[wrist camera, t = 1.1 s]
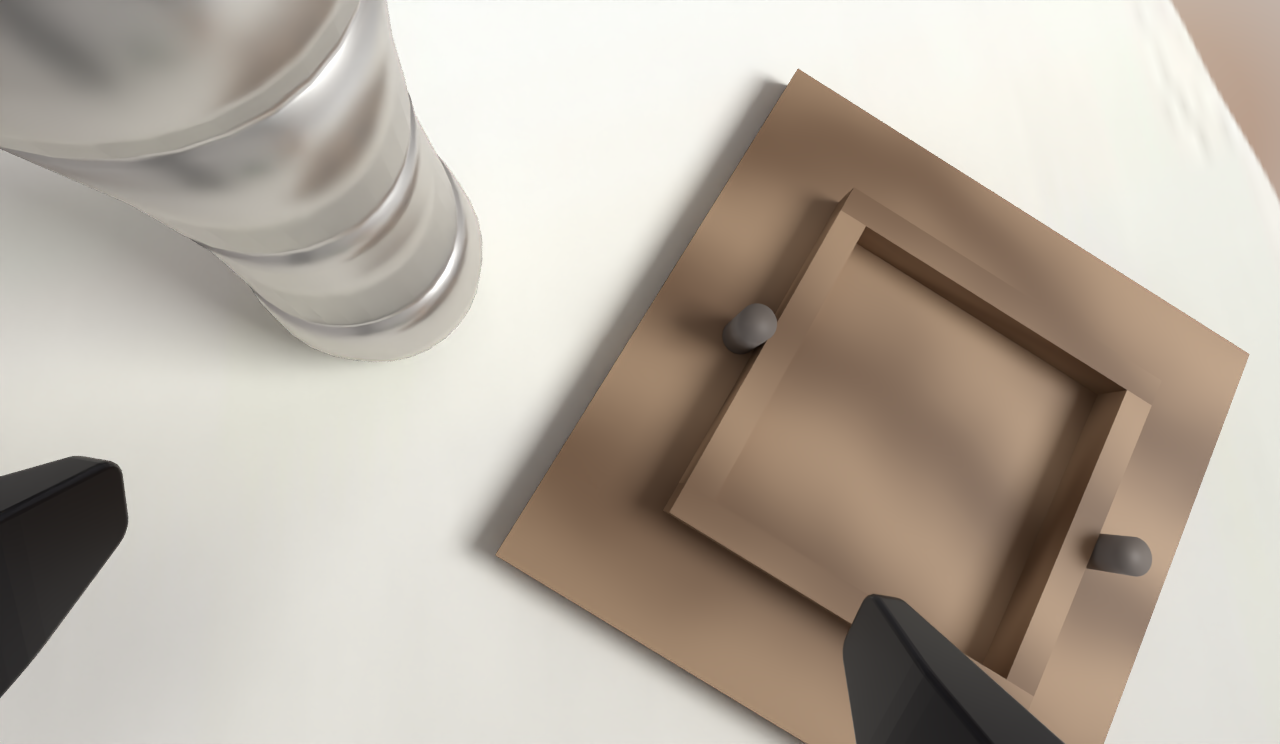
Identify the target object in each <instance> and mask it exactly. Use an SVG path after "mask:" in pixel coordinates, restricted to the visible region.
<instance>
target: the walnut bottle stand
mask: <svg viewBox="0 0 1280 744" xmlns="http://www.w3.org/2000/svg"><path fill="white" fill-rule="evenodd" d="M1248 357H1249V354H1248V353H1247V352H1245V351H1244V350H1242V349H1240V348H1239V347H1237V346H1236V345H1234V344H1232V343H1231V342H1229V341H1228V340H1226V339H1225V338H1223V337H1221V336H1220V335H1218V334H1217V333H1215V332H1213V331H1212V330H1210V329H1209V328H1207V327H1206V326H1204V325H1202V324H1201V323H1199V322H1198V321H1196V320H1195V319H1193V318H1191V317H1190V316H1188V315H1187V314H1185V313H1183V312H1182V311H1180V310H1179V309H1177V308H1176V307H1174V306H1172V305H1171V304H1169V303H1168V302H1166V301H1165V300H1163V299H1161V298H1160V297H1158V296H1157V295H1155V294H1153V293H1152V292H1150V291H1149V290H1147V289H1146V288H1144V287H1142V286H1141V285H1139V284H1138V283H1136V282H1134V281H1133V280H1131V279H1130V278H1128V277H1127V276H1125V275H1123V274H1122V273H1120V272H1119V271H1117V270H1116V269H1114V268H1112V267H1111V266H1109V265H1108V264H1106V263H1104V262H1103V261H1101V260H1100V259H1098V258H1097V257H1095V256H1093V255H1092V254H1090V253H1089V252H1087V251H1085V250H1084V249H1082V248H1081V247H1079V246H1078V245H1076V244H1074V243H1073V242H1071V241H1070V240H1068V239H1067V238H1065V237H1063V236H1062V235H1060V234H1059V233H1057V232H1055V231H1054V230H1052V229H1051V228H1049V227H1048V226H1046V225H1044V224H1043V223H1041V222H1040V221H1038V220H1036V219H1035V218H1033V217H1032V216H1030V215H1029V214H1027V213H1025V212H1024V211H1022V210H1021V209H1019V208H1018V207H1016V206H1014V205H1013V204H1011V203H1010V202H1008V201H1006V200H1005V199H1003V198H1002V197H1000V196H999V195H997V194H995V193H994V192H992V191H991V190H989V189H987V188H986V187H984V186H983V185H981V184H980V183H978V182H976V181H975V180H973V179H972V178H970V177H969V176H967V175H965V174H964V173H962V172H961V171H959V170H957V169H956V168H954V167H953V166H951V165H950V164H948V163H946V162H945V161H943V160H942V159H940V158H938V157H937V156H935V155H934V154H932V153H931V152H929V151H927V150H926V149H924V148H923V147H921V146H920V145H918V144H916V143H915V142H913V141H912V140H910V139H908V138H907V137H905V136H904V135H902V134H901V133H899V132H897V131H896V130H894V129H893V128H891V127H889V126H888V125H886V124H885V123H883V122H882V121H880V120H878V119H877V118H875V117H874V116H872V115H871V114H869V113H867V112H866V111H864V110H863V109H861V108H859V107H858V106H856V105H855V104H853V103H852V102H850V101H848V100H847V99H845V98H844V97H842V96H841V95H839V94H837V93H836V92H834V91H833V90H831V89H829V88H828V87H826V86H825V85H823V84H822V83H820V82H818V81H817V80H815V79H814V78H812V77H810V76H809V75H807V74H806V73H804V72H803V71H801V70H799V69H797V71H796V72H795V74H794V76H793V77H792V79H791V81H790V82H789V84H788V85H787V87H786V89H785V90H784V92H783V93H782V95H781V97H780V98H779V100H778V101H777V103H776V105H775V106H774V108H773V109H772V111H771V113H770V114H769V116H768V117H767V119H766V121H765V122H764V124H763V126H762V127H761V129H760V130H759V132H758V134H757V135H756V137H755V138H754V140H753V142H752V143H751V145H750V146H749V148H748V150H747V151H746V153H745V154H744V156H743V158H742V159H741V161H740V163H739V164H738V166H737V167H736V169H735V171H734V172H733V174H732V175H731V177H730V179H729V180H728V182H727V183H726V185H725V187H724V188H723V190H722V191H721V193H720V195H719V196H718V198H717V199H716V201H715V203H714V204H713V206H712V208H711V209H710V211H709V212H708V214H707V216H706V217H705V219H704V220H703V222H702V224H701V225H700V227H699V228H698V230H697V232H696V233H695V235H694V236H693V238H692V240H691V241H690V243H689V244H688V246H687V248H686V249H685V251H684V253H683V254H682V256H681V257H680V259H679V261H678V262H677V264H676V265H675V267H674V269H673V270H672V272H671V273H670V275H669V277H668V278H667V280H666V281H665V283H664V285H663V286H662V288H661V290H660V291H659V293H658V294H657V296H656V298H655V299H654V301H653V302H652V304H651V306H650V307H649V309H648V310H647V312H646V314H645V315H644V317H643V318H642V320H641V322H640V323H639V325H638V326H637V328H636V330H635V331H634V333H633V335H632V336H631V338H630V339H629V341H628V343H627V344H626V346H625V347H624V349H623V351H622V352H621V354H620V355H619V357H618V359H617V360H616V362H615V363H614V365H613V367H612V368H611V370H610V371H609V373H608V375H607V376H606V378H605V380H604V381H603V383H602V384H601V386H600V388H599V389H598V391H597V392H596V394H595V396H594V397H593V399H592V400H591V402H590V404H589V405H588V407H587V408H586V410H585V412H584V413H583V415H582V416H581V418H580V420H579V421H578V423H577V425H576V426H575V428H574V429H573V431H572V433H571V434H570V436H569V437H568V439H567V441H566V442H565V444H564V445H563V447H562V449H561V450H560V452H559V453H558V455H557V457H556V458H555V460H554V462H553V463H552V465H551V466H550V468H549V470H548V471H547V473H546V474H545V476H544V478H543V479H542V481H541V482H540V484H539V486H538V487H537V489H536V490H535V492H534V494H533V495H532V497H531V498H530V500H529V502H528V503H527V505H526V507H525V508H524V510H523V511H522V513H521V515H520V516H519V518H518V519H517V521H516V523H515V524H514V526H513V527H512V529H511V531H510V532H509V534H508V535H507V537H506V539H505V540H504V542H503V543H502V545H501V547H500V548H499V550H498V552H497V553H496V556H497V557H499V558H501V559H502V560H504V561H506V562H507V563H509V564H511V565H512V566H514V567H516V568H517V569H519V570H521V571H522V572H524V573H525V574H527V575H529V576H530V577H532V578H534V579H535V580H537V581H539V582H540V583H542V584H544V585H545V586H547V587H549V588H550V589H552V590H554V591H555V592H557V593H558V594H560V595H562V596H563V597H565V598H567V599H568V600H570V601H572V602H573V603H575V604H577V605H578V606H580V607H582V608H583V609H585V610H587V611H588V612H590V613H592V614H593V615H595V616H596V617H598V618H600V619H601V620H603V621H605V622H606V623H608V624H610V625H611V626H613V627H615V628H616V629H618V630H620V631H621V632H623V633H625V634H626V635H628V636H629V637H631V638H633V639H634V640H636V641H638V642H639V643H641V644H643V645H644V646H646V647H648V648H649V649H651V650H653V651H654V652H656V653H658V654H659V655H661V656H663V657H664V658H666V659H667V660H669V661H671V662H672V663H674V664H676V665H677V666H679V667H681V668H682V669H684V670H686V671H687V672H689V673H691V674H692V675H694V676H696V677H697V678H699V679H701V680H702V681H704V682H705V683H707V684H709V685H710V686H712V687H714V688H715V689H717V690H719V691H720V692H722V693H724V694H725V695H727V696H729V697H730V698H732V699H734V700H735V701H737V702H738V703H740V704H742V705H743V706H745V707H747V708H748V709H750V710H752V711H753V712H755V713H757V714H758V715H760V716H762V717H763V718H765V719H767V720H768V721H770V722H772V723H773V724H775V725H776V726H778V727H780V728H781V729H783V730H785V731H786V732H788V733H790V734H791V735H793V736H795V737H796V738H798V739H800V740H801V741H803V742H805V743H806V744H856V740H855V734H854V727H853V721H852V715H851V708H850V702H849V695H848V689H847V683H846V676H845V670H844V664H843V644H844V640H845V637H846V635H847V633H848V631H849V629H850V627H851V624H852V622H853V620H854V618H855V616H856V614H857V612H858V610H859V608H860V606H861V604H862V602H863V600H864V598H866V597H867V596H868V595H870V594H880V595H886V596H892V597H897V598H900V599H902V600H904V601H905V602H906V603H907V604H909V605H910V606H911V607H912V608H913V609H914V610H915V611H916V612H918V613H919V614H920V615H921V616H922V617H923V618H924V619H925V620H927V621H928V622H929V623H930V624H931V625H932V626H933V627H934V628H936V629H937V630H938V631H939V632H940V633H941V634H942V635H943V636H945V637H946V638H947V639H948V640H949V641H950V642H951V643H952V644H954V645H955V646H956V647H957V648H958V649H959V650H960V651H961V652H963V653H964V654H965V655H966V656H967V657H968V658H969V659H970V660H972V661H973V662H974V663H975V664H976V665H977V666H978V667H979V668H981V669H982V670H983V671H984V672H985V673H986V674H987V675H988V676H990V677H991V678H992V679H993V680H994V681H995V682H996V683H998V684H999V685H1000V686H1001V687H1002V688H1003V689H1004V690H1005V691H1007V692H1008V693H1009V694H1010V695H1011V696H1012V697H1013V698H1014V699H1016V700H1017V701H1018V702H1019V703H1020V704H1021V705H1022V706H1023V707H1025V708H1026V709H1027V710H1028V711H1029V712H1030V713H1031V714H1032V715H1034V716H1035V717H1036V718H1037V719H1038V720H1039V721H1040V722H1041V723H1043V724H1044V725H1045V726H1046V727H1047V728H1048V729H1049V730H1050V731H1052V732H1053V733H1054V734H1055V735H1056V736H1057V737H1058V738H1059V739H1061V740H1062V741H1063V742H1064V743H1065V744H1104V741H1105V739H1106V736H1107V733H1108V731H1109V728H1110V725H1111V723H1112V720H1113V717H1114V715H1115V712H1116V709H1117V707H1118V704H1119V701H1120V699H1121V696H1122V693H1123V691H1124V688H1125V685H1126V683H1127V680H1128V677H1129V675H1130V672H1131V669H1132V667H1133V664H1134V661H1135V659H1136V656H1137V653H1138V651H1139V648H1140V645H1141V643H1142V640H1143V637H1144V635H1145V632H1146V629H1147V627H1148V624H1149V621H1150V618H1151V616H1152V613H1153V610H1154V608H1155V605H1156V602H1157V600H1158V597H1159V594H1160V592H1161V589H1162V586H1163V584H1164V581H1165V578H1166V576H1167V573H1168V570H1169V568H1170V565H1171V562H1172V560H1173V557H1174V554H1175V552H1176V549H1177V546H1178V544H1179V541H1180V538H1181V536H1182V533H1183V530H1184V528H1185V525H1186V522H1187V520H1188V517H1189V514H1190V512H1191V509H1192V506H1193V504H1194V501H1195V498H1196V496H1197V493H1198V490H1199V488H1200V485H1201V482H1202V480H1203V477H1204V474H1205V472H1206V469H1207V466H1208V464H1209V461H1210V458H1211V456H1212V453H1213V450H1214V448H1215V445H1216V442H1217V440H1218V437H1219V434H1220V432H1221V429H1222V426H1223V424H1224V421H1225V418H1226V416H1227V413H1228V410H1229V408H1230V405H1231V402H1232V400H1233V397H1234V394H1235V392H1236V389H1237V386H1238V384H1239V381H1240V378H1241V376H1242V373H1243V370H1244V367H1245V365H1246V362H1247V359H1248Z"/></svg>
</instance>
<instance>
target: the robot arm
mask: <svg viewBox="0 0 1280 744" xmlns="http://www.w3.org/2000/svg"><path fill="white" fill-rule="evenodd" d="M127 526H128V512H127V504H126V497H125V489H124V481H123V474H122V470H121V469H120V467H119V466H118V465H117V464H116V463H114V462H112V461H108V460H102V459H96V458H90V457H85V456H72V457H67V458H64V459H60V460H57V461H53V462H50V463H46V464H43V465H39V466H36V467H32V468H29V469H25V470H22V471H18V472H15V473H11V474H7V475H4V476H0V698H1V696H2V695H3V694H4V693H5V692H6V691H7V690H8V689H9V687H10V686H11V685H12V684H13V683H14V682H15V681H16V679H17V678H18V677H19V676H20V675H21V673H22V672H23V671H24V670H25V669H26V668H27V666H28V665H29V664H30V663H31V662H32V660H33V659H34V658H35V657H36V655H37V654H38V653H39V651H40V650H41V649H42V648H43V646H44V645H45V644H46V643H47V641H48V640H49V639H50V637H51V636H52V634H53V633H54V632H55V630H56V629H57V628H58V626H59V625H60V624H61V622H62V621H63V620H64V618H65V617H66V616H67V614H68V613H69V611H70V610H71V609H72V607H73V606H74V605H75V603H76V602H77V601H78V599H79V598H80V597H81V595H82V594H83V593H84V591H85V590H86V588H87V587H88V586H89V584H90V583H91V582H92V580H93V579H94V578H95V576H96V575H97V574H98V572H99V571H100V570H101V568H102V567H103V565H104V564H105V563H106V561H107V560H108V559H109V557H110V556H111V555H112V553H113V552H114V551H115V549H116V548H117V547H118V545H119V544H120V542H121V541H122V539H123V537H124V535H125V533H126V530H127ZM843 664H844V670H845V676H846V683H847V689H848V695H849V702H850V708H851V715H852V721H853V727H854V734H855V740H856V744H1065V743H1064V742H1063V741H1062V740H1061V739H1059V738H1058V737H1057V736H1056V735H1055V734H1054V733H1053V732H1052V731H1050V730H1049V729H1048V728H1047V727H1046V726H1045V725H1044V724H1043V723H1041V722H1040V721H1039V720H1038V719H1037V718H1036V717H1035V716H1034V715H1032V714H1031V713H1030V712H1029V711H1028V710H1027V709H1026V708H1025V707H1023V706H1022V705H1021V704H1020V703H1019V702H1018V701H1017V700H1016V699H1014V698H1013V697H1012V696H1011V695H1010V694H1009V693H1008V692H1007V691H1005V690H1004V689H1003V688H1002V687H1001V686H1000V685H999V684H998V683H996V682H995V681H994V680H993V679H992V678H991V677H990V676H988V675H987V674H986V673H985V672H984V671H983V670H982V669H981V668H979V667H978V666H977V665H976V664H975V663H974V662H973V661H972V660H970V659H969V658H968V657H967V656H966V655H965V654H964V653H963V652H961V651H960V650H959V649H958V648H957V647H956V646H955V645H954V644H952V643H951V642H950V641H949V640H948V639H947V638H946V637H945V636H943V635H942V634H941V633H940V632H939V631H938V630H937V629H936V628H934V627H933V626H932V625H931V624H930V623H929V622H928V621H927V620H925V619H924V618H923V617H922V616H921V615H920V614H919V613H918V612H916V611H915V610H914V609H913V608H912V607H911V606H910V605H909V604H907V603H906V602H905V601H904V600H902V599H900V598H897V597H892V596H886V595H880V594H870V595H868V596H867V597H866V598H864V600H863V602H862V604H861V606H860V608H859V610H858V612H857V614H856V616H855V618H854V620H853V622H852V624H851V627H850V629H849V631H848V633H847V635H846V637H845V640H844V644H843Z"/></svg>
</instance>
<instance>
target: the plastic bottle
mask: <svg viewBox="0 0 1280 744" xmlns="http://www.w3.org/2000/svg"><path fill="white" fill-rule="evenodd" d="M0 149H2V150H4V151H7V152H9V153H11V154H14V155H16V156H18V157H21V158H23V159H25V160H28V161H30V162H32V163H35V164H37V165H39V166H42V167H44V168H46V169H49V170H51V171H53V172H56V173H58V174H60V175H62V176H65V177H67V178H69V179H72V180H74V181H76V182H79V183H81V184H83V185H86V186H88V187H90V188H93V189H95V190H97V191H100V192H102V193H104V194H107V195H109V196H111V197H114V198H116V199H118V200H121V201H123V202H125V203H127V204H129V205H131V206H133V207H135V208H136V209H138V210H140V211H142V212H143V213H145V214H147V215H149V216H150V217H152V218H154V219H155V220H157V221H159V222H161V223H162V224H164V225H166V226H168V227H169V228H171V229H173V230H175V231H176V232H178V233H180V234H182V235H183V236H186V237H188V238H190V239H191V240H193V241H194V242H196V243H198V244H199V245H201V246H202V247H204V248H206V249H208V250H209V251H211V252H212V253H213V254H215V255H216V256H217V257H218V258H219V259H220V260H221V261H222V262H224V263H225V264H226V265H227V266H228V267H229V268H230V269H231V270H233V271H234V272H235V273H236V274H237V275H238V276H239V277H240V278H242V279H243V280H244V281H245V282H246V283H247V284H248V285H249V286H250V287H251V289H252V290H253V292H254V294H255V295H256V297H257V298H258V300H259V301H260V303H261V304H262V305H263V306H264V307H265V308H266V309H267V310H268V311H269V312H270V313H271V314H272V315H273V316H274V317H275V318H276V319H277V320H278V321H279V322H280V323H281V324H282V325H283V326H284V327H285V328H286V329H287V330H288V331H289V332H290V333H291V334H292V335H293V336H295V337H296V338H298V339H299V340H301V341H302V342H304V343H305V344H307V345H309V346H310V347H312V348H314V349H316V350H319V351H321V352H324V353H327V354H329V355H332V356H335V357H341V358H346V359H352V360H358V361H368V362H384V361H395V360H400V359H405V358H409V357H412V356H415V355H417V354H419V353H422V352H424V351H426V350H429V349H430V348H432V347H433V346H435V345H436V344H438V343H439V342H441V341H442V340H444V339H445V338H446V337H447V336H448V335H449V334H450V333H451V332H452V331H453V330H454V329H455V328H456V327H457V326H458V325H459V324H460V322H461V321H462V319H463V318H464V317H465V315H466V314H467V312H468V311H469V309H470V307H471V304H472V302H473V299H474V297H475V295H476V292H477V288H478V283H479V278H480V272H481V265H482V236H481V231H480V227H479V222H478V218H477V216H476V213H475V211H474V209H473V206H472V204H471V202H470V200H469V198H468V196H467V195H466V193H465V192H464V190H463V188H462V187H461V185H460V184H459V182H458V181H457V179H456V178H455V176H454V175H453V173H452V172H451V171H450V169H449V168H448V166H447V165H446V164H445V163H444V161H443V160H442V159H441V158H440V157H439V156H438V155H437V154H436V152H435V150H434V148H433V146H432V144H431V143H430V141H429V139H428V137H427V135H426V133H425V131H424V130H423V128H422V126H421V124H420V122H419V120H418V118H417V117H416V115H415V112H414V108H413V105H412V101H411V98H410V95H409V93H408V90H407V86H406V81H405V77H404V74H403V70H402V67H401V64H400V60H399V57H398V53H397V50H396V47H395V43H394V40H393V36H392V30H391V24H390V18H389V12H388V6H387V0H0Z"/></svg>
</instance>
